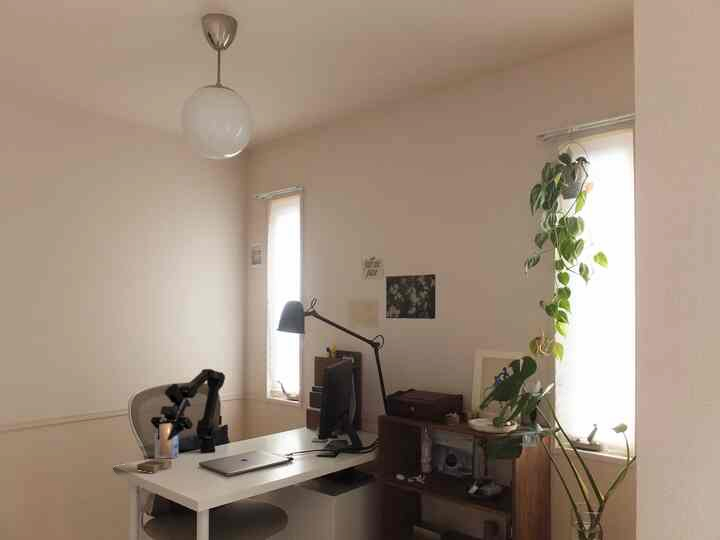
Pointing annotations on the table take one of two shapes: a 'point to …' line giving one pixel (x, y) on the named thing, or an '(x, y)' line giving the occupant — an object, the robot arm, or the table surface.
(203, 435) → the robot arm
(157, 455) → the ink cartridge box
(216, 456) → the table surface
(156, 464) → the walnut plinth
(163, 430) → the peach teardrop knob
